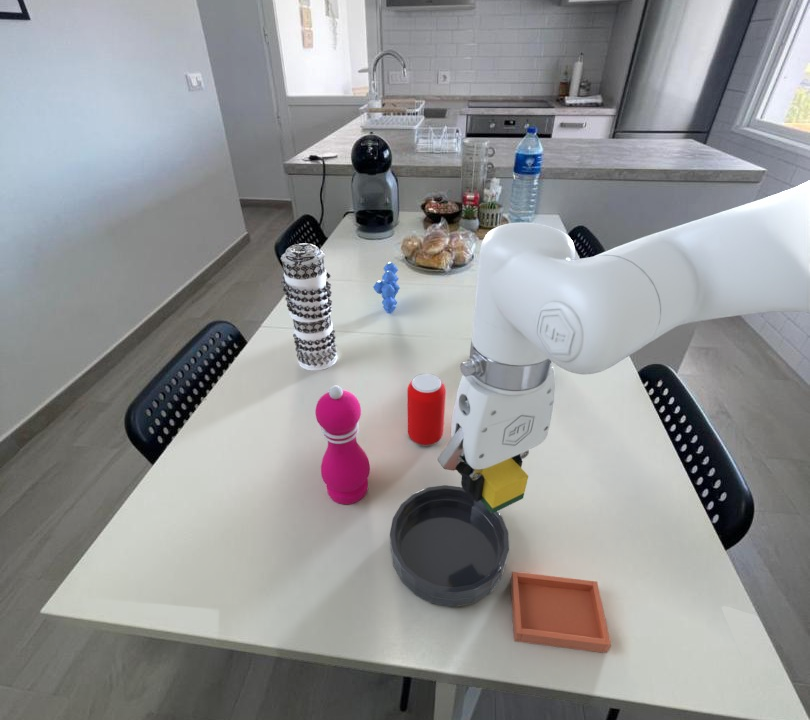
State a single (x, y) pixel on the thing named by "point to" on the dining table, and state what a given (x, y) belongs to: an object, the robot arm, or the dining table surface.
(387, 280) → the grapes
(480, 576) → the pan
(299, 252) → the decorative candle
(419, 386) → the beverage can
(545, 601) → the soap dish
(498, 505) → the sponge
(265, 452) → the dining table surface
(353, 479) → the pepper mill
